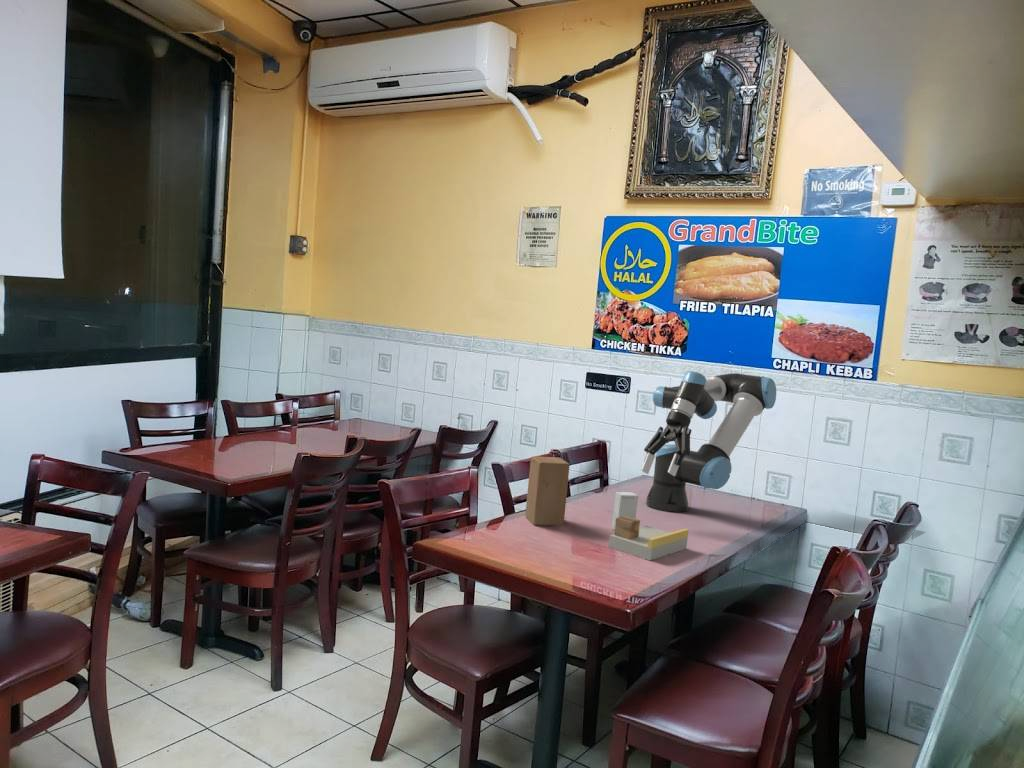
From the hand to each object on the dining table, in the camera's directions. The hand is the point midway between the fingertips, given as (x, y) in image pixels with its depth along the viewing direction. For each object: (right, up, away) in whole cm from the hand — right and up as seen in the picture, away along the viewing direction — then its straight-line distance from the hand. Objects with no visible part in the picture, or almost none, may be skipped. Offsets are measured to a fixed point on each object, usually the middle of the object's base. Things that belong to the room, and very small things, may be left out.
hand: (657, 473), depth 244 cm
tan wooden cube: (-14, -15, -24) cm, 32 cm away
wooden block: (-37, -15, -3) cm, 40 cm away
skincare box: (-12, -18, -5) cm, 22 cm away
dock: (-7, -19, -22) cm, 30 cm away
